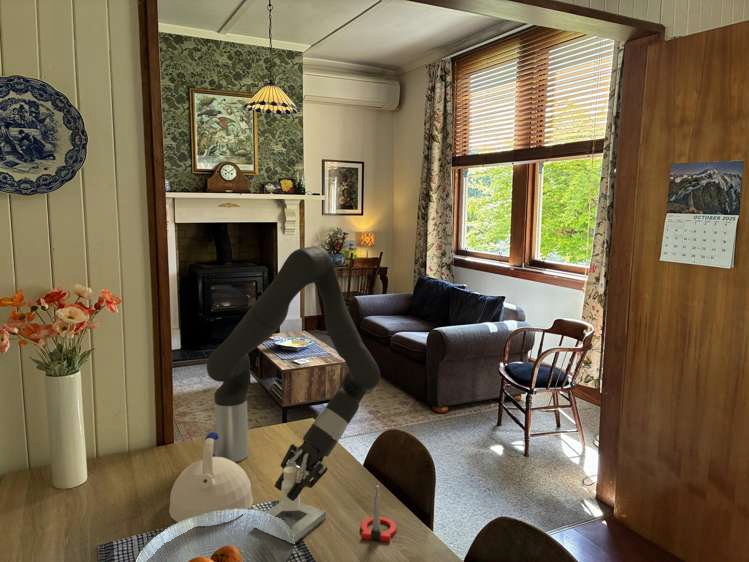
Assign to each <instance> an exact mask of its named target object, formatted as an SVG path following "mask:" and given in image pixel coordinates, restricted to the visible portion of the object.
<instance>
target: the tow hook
mask: <svg viewBox="0 0 749 562" xmlns="http://www.w3.org/2000/svg"><path fill="white" fill-rule="evenodd" d="M380 499H381V498H380V486H379V485H375V493H374V499H373V501H374V502H373V503H374V505H373V508H374V509H373V516H371V517H367V518H365V519H363V520H362V522H361V523H360V531H361V537H360V538H361V540H368V541H374V542H385V543H386V542H388V543H390V542H391V541H392V536H394V535H395V534H396V532H397V531H398V530H397V528H398V527H397V523H396V522H395V521H394V520H392V519H391V518H389V517H384V516H380V504H381V502H380ZM381 522H382V523H381ZM371 524H372V527H371V529H369V528H368V527H369V526H370V525H371ZM381 524H385V525H387V526H388V527H389V529H387V530H384V531H382V527H381Z"/></svg>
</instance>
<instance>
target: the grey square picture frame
mask: <svg viewBox="0 0 749 562" xmlns="http://www.w3.org/2000/svg"><path fill="white" fill-rule="evenodd" d="M265 512H266V513H269V514H271V515H272V516H275V517H278V518H281V519H284V521H285V522H286V523H287V525H288V526H289V528H290V529H291V531H292V533H293V536H294V540H295V542H297V541H298V540H299V539H301V538H302V539H303V538H305V537H306V536H307V535H309V533H311V532H313V530H315V529H316V528H317V527H318V526H320V525H321V524H322V523H323V522H325V520H327V517H326V515H327V512H326V511H325V510H322V509H319V508H318V507H314V506H311V505H309V504H307V503H303V502H301V501H300V506H299V510H297V511H283V510H282V500H281V501H280V502H278V503H277V504H275V505H274V506H272V507H271V508H270V509H268V510H267V511H265ZM285 515H286V516H285ZM285 518H286V519H285ZM302 539H301V540H302ZM298 542H299V541H298ZM298 542H297V543H298Z"/></svg>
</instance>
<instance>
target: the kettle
mask: <svg viewBox="0 0 749 562" xmlns="http://www.w3.org/2000/svg"><path fill="white" fill-rule="evenodd" d="M218 438H219V437H218V434H217V433H215V432H213V431H211V432H209V433H207V435H206V436H205V438H204V443H203V446H202V447H203V449H202V459H198V460H196V461H194V462H192V463H191V464H189V465H188V466H187V467H186V468H185V469H184V470H182V472H181V473H180V474H179V475H178V477H177V478H176V480H175V481H174V483H173V486H172V488H171V491H170V496H169V497H170V499H169V510H168V513H169V515H170V518H171V519H172V520H174V521H175V522H176V523H178V522H177V521H180V520H183V519H186V518H189V517H192V516H196V515H200V514H203V513H207V512H210V511H216V510H224V509H234V508H249V509H250V508H251V507H252V505H253V502H254V499H253V493H252V486H251V481H250V479H249V477H248V474H247V473H246V472H245V470H244V469H243V468H242V467H241V466H240V465H239V464H238V463H237V462H233V461H231V460H228V459H226V458H223V457H216V456H215V454H214V440H217V439H218Z"/></svg>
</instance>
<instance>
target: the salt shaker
mask: <svg viewBox="0 0 749 562" xmlns="http://www.w3.org/2000/svg"><path fill="white" fill-rule="evenodd" d="M282 473H283V476H284V481H283V482H282V490H281V501H282V510H283V511H297V510H299V506H300V502H301V493H300V494H299V495H298V497H297V498H296V499H295V500H294V501H292V500H290V499H289V498H288V497H287V494H288V492H289V491H290V489H291V488H292V487H293V485H294V484H295V482H296V483H297V480H298V471H297V468H295V467H286V468H285V469H284V470H283V469H282Z"/></svg>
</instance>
